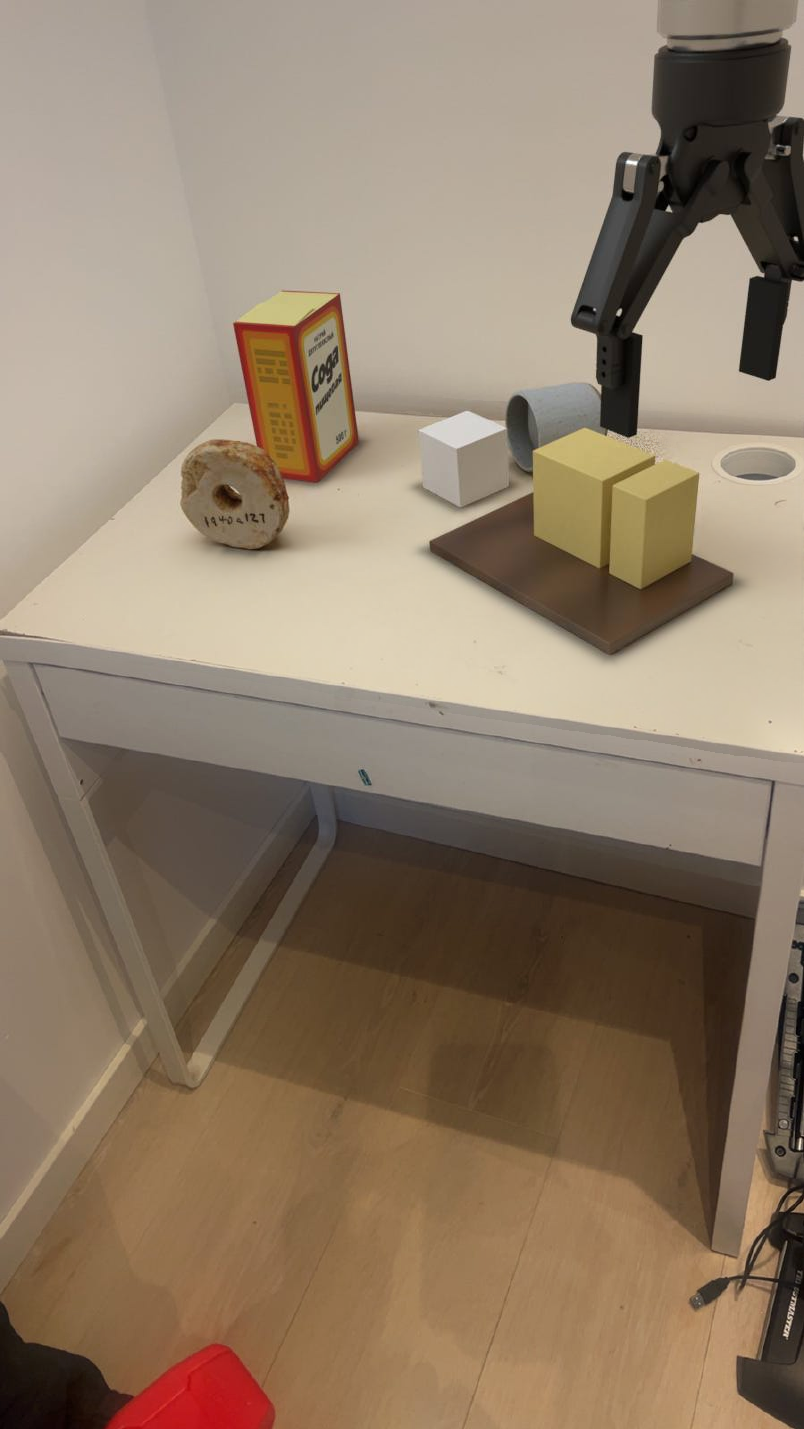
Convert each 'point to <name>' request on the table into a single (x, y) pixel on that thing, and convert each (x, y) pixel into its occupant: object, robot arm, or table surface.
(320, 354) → the baking soda box
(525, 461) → the ceramic mug
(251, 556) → the table surface
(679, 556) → the block
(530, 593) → the butter board
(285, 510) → the stone disc
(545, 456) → the butter block
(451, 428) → the white cube
